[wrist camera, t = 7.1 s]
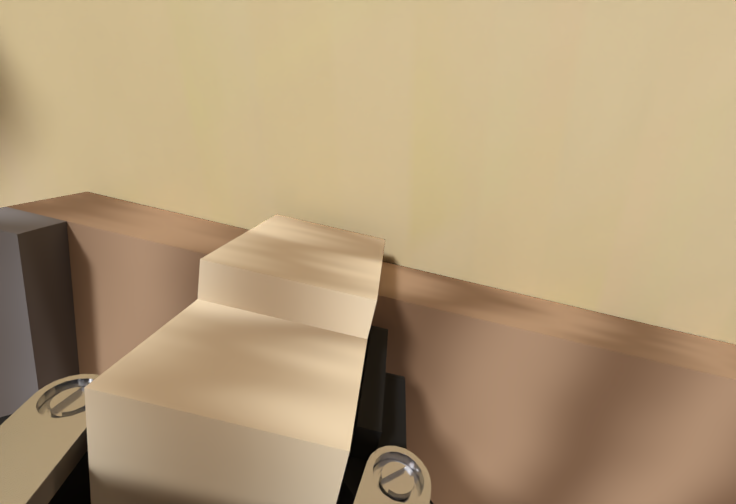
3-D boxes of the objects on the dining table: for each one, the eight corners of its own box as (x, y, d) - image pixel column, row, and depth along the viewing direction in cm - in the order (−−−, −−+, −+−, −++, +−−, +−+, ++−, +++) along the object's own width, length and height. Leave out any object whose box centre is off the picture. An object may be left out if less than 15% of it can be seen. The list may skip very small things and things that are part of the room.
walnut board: (778, 355, 13) (953, 457, 9) (633, 548, 17) (708, 681, 13) (87, 191, 14) (-53, 217, 10) (101, 418, 18) (7, 508, 14)
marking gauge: (385, 239, 12) (364, 396, 5) (326, 481, 16) (262, 785, 8) (276, 214, 12) (80, 329, 5) (243, 460, 16) (105, 746, 8)
